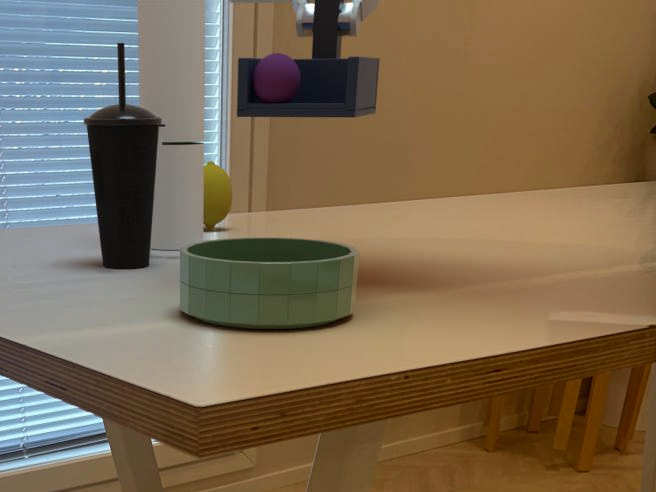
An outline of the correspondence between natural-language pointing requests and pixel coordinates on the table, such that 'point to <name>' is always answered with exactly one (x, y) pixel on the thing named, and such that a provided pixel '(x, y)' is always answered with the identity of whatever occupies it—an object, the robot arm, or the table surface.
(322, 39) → the scoop
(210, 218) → the lemon
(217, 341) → the table surface
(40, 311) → the table surface
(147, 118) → the drinking cup
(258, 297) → the bowl
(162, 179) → the cylindrical container
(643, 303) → the table surface
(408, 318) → the table surface
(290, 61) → the ball
